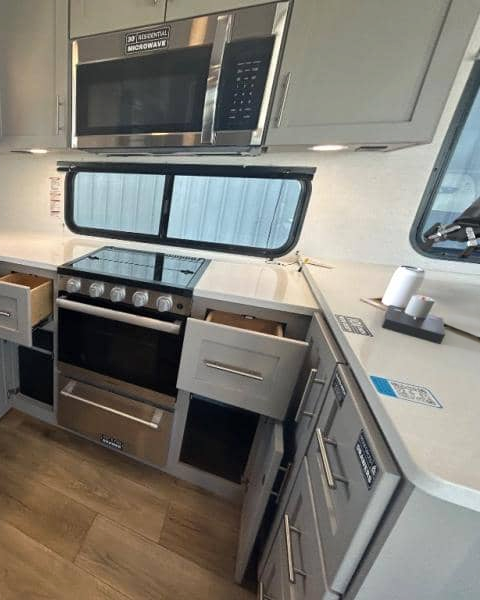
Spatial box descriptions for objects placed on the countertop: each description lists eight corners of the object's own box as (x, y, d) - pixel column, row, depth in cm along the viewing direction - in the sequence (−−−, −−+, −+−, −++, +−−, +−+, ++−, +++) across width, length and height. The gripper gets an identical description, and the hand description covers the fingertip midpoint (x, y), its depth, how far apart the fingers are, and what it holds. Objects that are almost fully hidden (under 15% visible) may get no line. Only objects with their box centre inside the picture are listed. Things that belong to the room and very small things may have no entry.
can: (405, 311, 97) (425, 273, 92) (378, 303, 101) (395, 266, 97) (411, 307, 100) (429, 270, 95) (384, 300, 105) (400, 263, 100)
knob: (405, 309, 92) (414, 292, 90) (427, 315, 89) (436, 297, 87) (403, 313, 90) (412, 295, 88) (425, 319, 87) (434, 301, 84)
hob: (386, 312, 97) (390, 303, 96) (438, 325, 90) (443, 317, 89) (381, 327, 87) (385, 318, 85) (440, 344, 80) (445, 334, 79)
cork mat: (389, 299, 107) (390, 298, 107) (431, 315, 96) (432, 314, 96) (359, 300, 105) (360, 298, 105) (398, 316, 94) (399, 314, 94)
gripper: (448, 202, 102) (411, 240, 102) (517, 209, 90) (474, 251, 90) (449, 220, 106) (413, 255, 106) (515, 228, 94) (473, 269, 94)
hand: (441, 253), depth 98 cm, fingers open, 8 cm apart
